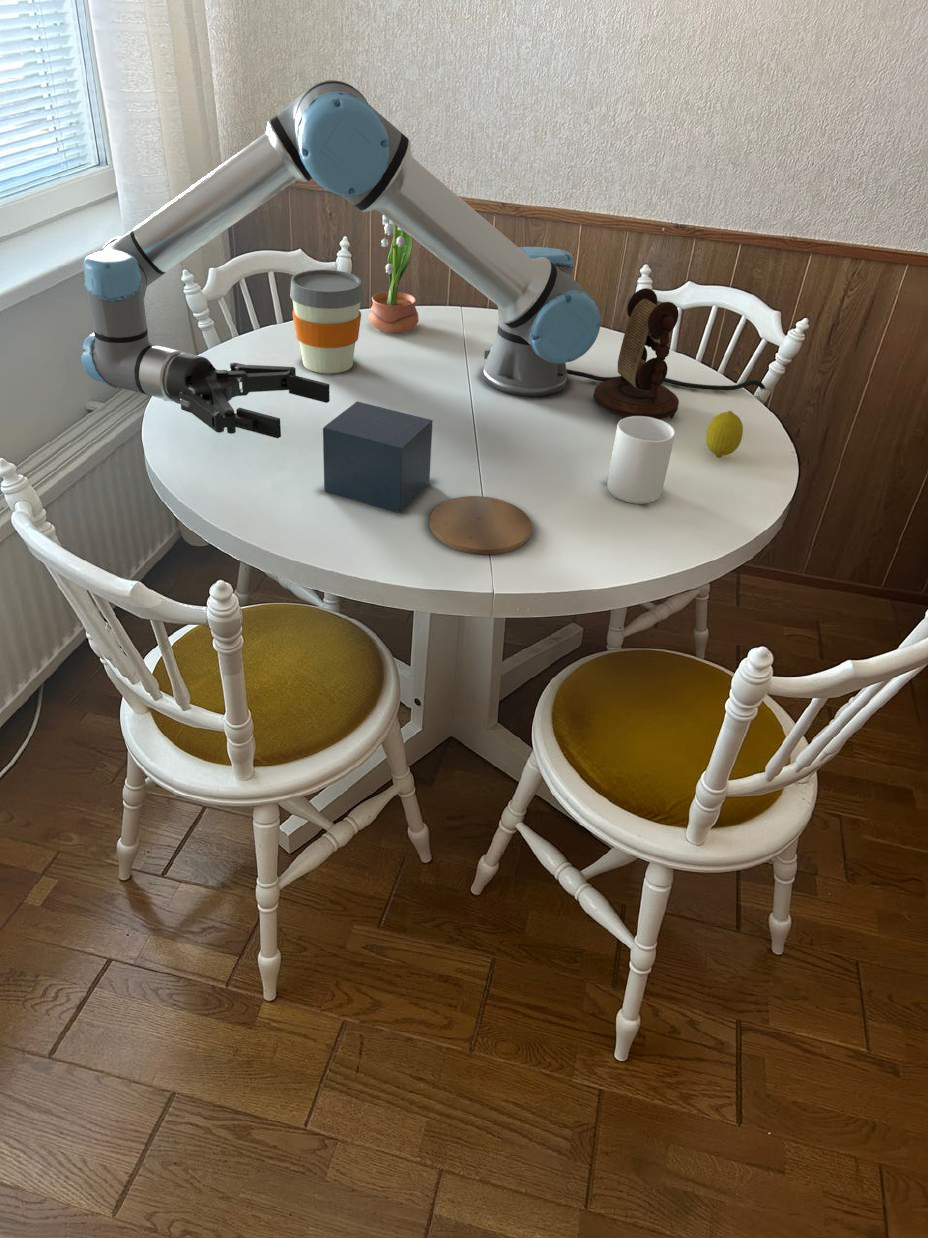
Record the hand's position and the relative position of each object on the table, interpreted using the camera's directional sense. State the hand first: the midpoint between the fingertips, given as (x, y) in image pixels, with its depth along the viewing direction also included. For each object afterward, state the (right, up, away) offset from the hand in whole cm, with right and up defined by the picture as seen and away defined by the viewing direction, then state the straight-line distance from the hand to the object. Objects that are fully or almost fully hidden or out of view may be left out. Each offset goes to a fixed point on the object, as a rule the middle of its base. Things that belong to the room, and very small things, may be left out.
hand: (304, 410), depth 131 cm
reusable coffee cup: (-2, +17, +37) cm, 41 cm away
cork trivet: (+25, -17, -4) cm, 30 cm away
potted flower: (+8, +28, +54) cm, 61 cm away
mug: (+48, -10, +8) cm, 49 cm away
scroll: (+52, +7, +31) cm, 61 cm away
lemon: (+64, -4, +18) cm, 66 cm away
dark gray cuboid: (+10, -11, +2) cm, 15 cm away
